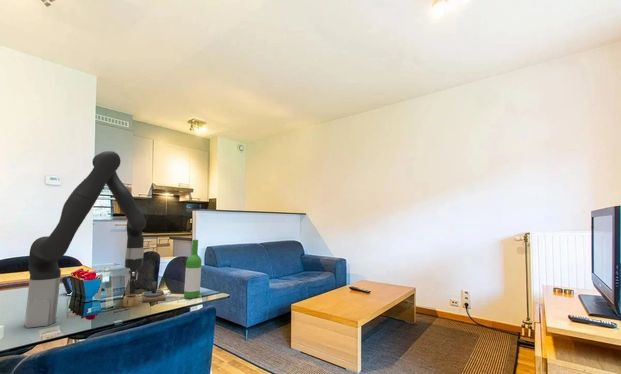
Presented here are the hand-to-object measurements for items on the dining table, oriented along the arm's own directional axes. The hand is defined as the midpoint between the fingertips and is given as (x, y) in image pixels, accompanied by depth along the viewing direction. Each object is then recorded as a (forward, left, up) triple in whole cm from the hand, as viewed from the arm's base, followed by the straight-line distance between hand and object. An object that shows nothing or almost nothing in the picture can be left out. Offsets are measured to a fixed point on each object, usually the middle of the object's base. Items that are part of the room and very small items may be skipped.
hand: (132, 291), depth 147 cm
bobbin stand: (+9, -10, -6) cm, 15 cm away
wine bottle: (+4, -28, -6) cm, 29 cm away
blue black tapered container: (+34, +23, -7) cm, 41 cm away
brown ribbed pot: (0, 0, -6) cm, 6 cm away
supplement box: (+16, +18, -6) cm, 25 cm away
